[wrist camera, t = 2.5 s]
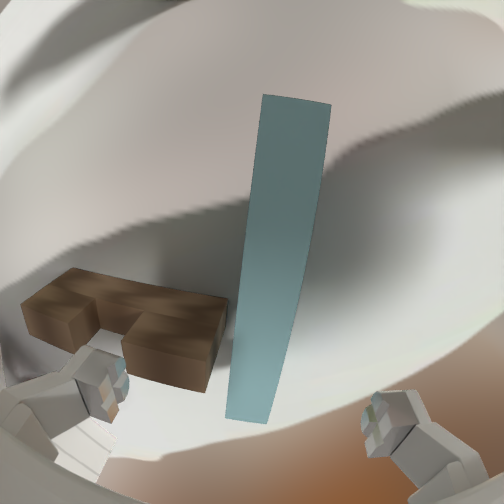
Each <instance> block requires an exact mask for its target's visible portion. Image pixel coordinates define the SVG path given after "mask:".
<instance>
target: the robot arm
mask: <svg viewBox="0 0 504 504" xmlns="http://www.w3.org/2000/svg"><path fill="white" fill-rule="evenodd" d="M125 368H126V363H125V359H124V358H122V357H120V356H117V355H114V354H111V353H108V352H105V351H102V350H99V349H96V348H93V347H90V346H88V345H83V346H81V347H80V349H79V350H78V351H77V352H76V353H75V354H74V355H73V357H72V358H71V359H70V360H69V361H68V362H67V363H66V365H65V366H64V367H63V368H62V369H61V371H60V372H57V371H54V372H51V373H49V374H46V375H43V376H40V377H37V378H34V379H31V380H28V381H25V382H23V383H20V384H17V385H14V386H11V387H7V388H4V389H3V390H2V391H1V392H0V504H149V503H146V502H143V501H139V500H137V499H133V498H131V497H128V496H125V495H123V494H120V493H117V492H115V491H112V490H110V489H107V488H105V487H103V486H100V485H98V484H96V483H94V482H91V481H89V480H87V479H85V478H83V477H81V476H79V475H77V474H75V473H73V472H71V471H69V470H67V469H65V468H63V467H62V466H60V465H58V464H56V463H55V462H54V461H55V460H56V458H57V456H58V454H59V452H58V449H57V448H56V447H55V445H54V444H53V442H52V441H51V439H53V438H55V437H56V436H58V435H60V434H62V433H64V432H65V431H67V430H69V429H70V428H72V427H74V426H76V425H77V424H79V423H81V422H82V421H84V420H86V419H87V418H89V417H90V416H92V417H94V418H97V419H100V420H102V421H105V422H108V423H111V424H112V422H113V420H114V418H115V416H116V415H117V413H118V411H119V408H118V404H119V403H121V402H123V401H124V400H125V398H126V396H127V394H128V390H129V377H128V375H127V374H126V373H125V371H124V369H125ZM371 402H372V404H371V405H369V406H368V407H366V408H365V410H364V412H363V414H362V419H361V429H362V433H363V434H364V435H365V436H366V437H367V440H366V442H365V446H366V451H367V456H368V458H374V457H385V456H390V458H391V459H392V460H393V461H394V463H395V464H396V465H397V466H398V467H399V468H400V469H401V470H402V471H403V472H404V473H405V474H406V476H407V477H408V478H409V479H410V480H411V481H412V482H413V483H414V484H415V485H416V486H417V487H418V489H419V490H418V491H416V492H415V493H414V494H413V495H411V496H410V497H409V499H408V504H504V472H502V473H501V474H499V475H497V476H495V477H493V478H491V479H489V477H488V474H487V472H486V469H485V467H484V465H483V462H482V460H481V458H480V456H479V454H478V452H476V451H475V450H473V449H472V448H471V447H469V446H468V445H466V444H465V443H464V442H462V441H461V440H459V439H458V438H457V437H455V436H454V435H452V434H451V433H450V432H448V431H447V430H445V429H444V428H443V427H441V426H440V425H438V424H437V423H436V422H431V419H430V417H429V415H428V413H427V411H426V409H425V406H424V404H423V402H422V400H421V398H420V396H419V394H418V392H417V391H416V390H402V391H401V390H399V391H377V392H376V393H374V394H373V396H372V398H371Z"/></svg>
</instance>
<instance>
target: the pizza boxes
mask: <svg viewBox="0 0 504 504" xmlns="http://www.w3.org/2000/svg"><path fill="white" fill-rule="evenodd" d="M4 388H6V382H5V376H4V370H3V363H2V354H1V345H0V392H1V391H2V390H3V389H4ZM117 439H118V438H116V437H115V436H114V435H112V434H111V433H110V432H108V431H107V430H106V429H105V428H103V427H102V426H101V425H100V424H99V423H97V422H96V421H95V420H94V419H93V418H91V417H89V418H87V419H86V420H84V421H82V422H81V423H79V424H77V425H76V426H74V427H72V428H70V429H69V430H67V431H65V432H64V433H62V434H60V435H58V436H56V437H55V438H53V439H51V441H52V442H53V444H54V445H55V447H56V448H57V449H58V452H59V454H58V456H57V458H56V460H55V461H54V462H55V463H56V464H58V465H60V466H62V467H63V468H65V469H67V470H69V471H71V472H73V473H75V474H77V475H79V476H81V477H83V478H85V479H87V480H89V481H91V482H94V483H96V481H97V479H98V477H99V475H100V473H101V471H102V469H103V467H104V465H105V463H106V461H107V459H108V457H109V455H110V453H111V451H112V449H113V447H114V445H115V443H116V441H117Z"/></svg>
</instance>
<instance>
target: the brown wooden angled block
mask: <svg viewBox="0 0 504 504" xmlns="http://www.w3.org/2000/svg"><path fill="white" fill-rule="evenodd" d="M227 302H228V299H227V298H221V297H215V296H209V295H203V294H197V293H192V292H186V291H181V290H175V289H170V288H165V287H160V286H155V285H150V284H145V283H140V282H135V281H130V280H125V279H121V278H116V277H111V276H107V275H102V274H98V273H94V272H89V271H85V270H81V269H77V268H71V269H70V270H68V271H67V272H65V273H64V274H62V275H61V276H59V277H58V278H57V279H55V280H54V281H52V282H51V283H49V284H48V285H46V286H45V287H44V288H42V289H41V290H39V291H38V292H37V293H35V294H34V295H33V296H31V297H30V298H28V299H27V300H26V301H24V302H23V303H22V304H20V305H21V308H22V312H23V315H24V319H25V322H26V325H27V328H28V331H29V334H30V335H32V336H34V337H36V338H38V339H40V340H42V341H45V342H47V343H49V344H51V345H53V346H56V347H58V348H60V349H63V350H65V351H67V352H70V353H72V354H75V353H76V352H77V351H78V350H79V349H80V347H81V346H83V345H86V344H87V343H88V342H89V341H90V339H91V338H92V337H93V336H94V335H95V334H96V333H97V332H98V330H99V329H100V328H102V329H105V330H108V331H112V332H115V333H118V334H122V335H125V336H124V338H123V339H122V340H121V345H122V350H123V356H124V359H125V363H126V371H127V373H128V374H131V375H134V376H137V377H141V378H144V379H148V380H151V381H155V382H159V383H162V384H166V385H170V386H174V387H178V388H183V389H187V390H191V391H196V392H201V393H205V391H206V388H207V385H208V382H209V378H210V375H211V372H212V369H213V365H214V362H215V359H216V356H217V352H218V349H219V346H220V343H221V340H222V336H223V333H224V330H225V324H226V313H227Z"/></svg>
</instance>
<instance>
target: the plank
mask: <svg viewBox="0 0 504 504" xmlns="http://www.w3.org/2000/svg"><path fill="white" fill-rule="evenodd" d="M330 113H331V105H330V104H325V103H320V102H314V101H309V100H302V99H296V98H289V97H282V96H275V95H266V94H263V98H262V106H261V113H260V121H259V129H258V137H257V145H256V153H255V160H254V169H253V177H252V185H251V193H250V201H249V209H248V218H247V226H246V234H245V243H244V251H243V260H242V269H241V277H240V286H239V295H238V304H237V312H236V321H235V330H234V339H233V348H232V358H231V367H230V376H229V385H228V395H227V404H226V414H225V418H227V419H233V420H239V421H246V422H253V423H261V424H267V421H268V418H269V415H270V411H271V408H272V404H273V400H274V397H275V393H276V390H277V386H278V382H279V378H280V375H281V371H282V367H283V363H284V359H285V355H286V351H287V347H288V343H289V339H290V335H291V331H292V327H293V322H294V318H295V314H296V309H297V305H298V300H299V296H300V291H301V286H302V282H303V277H304V272H305V267H306V262H307V257H308V252H309V247H310V242H311V237H312V231H313V226H314V220H315V215H316V209H317V203H318V197H319V191H320V185H321V178H322V172H323V165H324V158H325V151H326V144H327V136H328V129H329V121H330Z"/></svg>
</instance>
